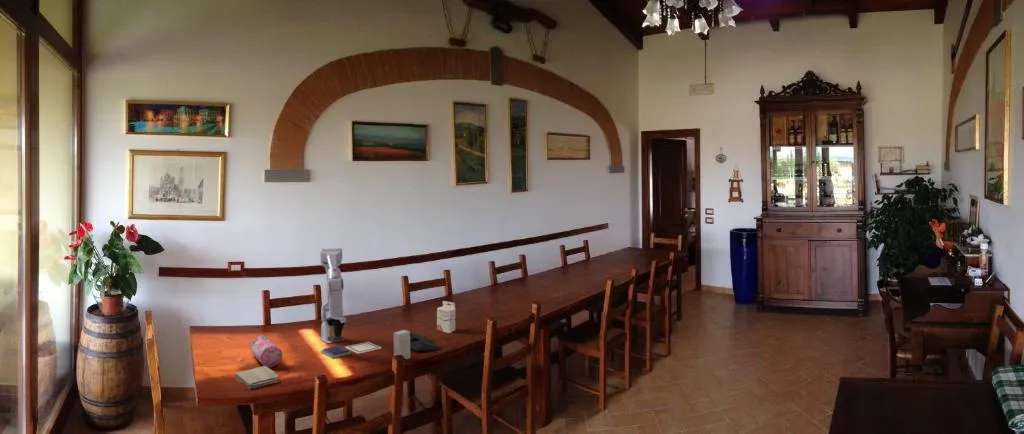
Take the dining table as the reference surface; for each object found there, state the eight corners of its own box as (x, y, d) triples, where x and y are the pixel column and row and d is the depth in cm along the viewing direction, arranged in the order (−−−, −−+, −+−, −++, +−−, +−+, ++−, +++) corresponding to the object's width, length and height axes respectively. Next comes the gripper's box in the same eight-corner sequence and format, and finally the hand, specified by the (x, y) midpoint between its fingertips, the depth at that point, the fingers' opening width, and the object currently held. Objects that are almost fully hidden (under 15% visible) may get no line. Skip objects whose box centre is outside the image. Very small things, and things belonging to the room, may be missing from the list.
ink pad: (321, 352, 266) (321, 348, 266) (340, 348, 272) (339, 344, 272) (332, 358, 259) (332, 354, 259) (350, 354, 265) (350, 350, 265)
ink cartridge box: (436, 330, 304) (436, 302, 303) (442, 328, 309) (442, 300, 307) (449, 333, 300) (449, 304, 299) (455, 331, 304) (455, 302, 303)
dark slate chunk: (411, 355, 266) (411, 345, 266) (395, 342, 285) (395, 332, 285) (443, 350, 274) (443, 340, 274) (425, 337, 293) (425, 328, 293)
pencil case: (249, 355, 261) (249, 335, 260) (271, 352, 266) (271, 332, 265) (259, 370, 244) (259, 348, 243) (283, 366, 249) (282, 345, 248)
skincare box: (404, 356, 264) (404, 329, 263) (410, 358, 261) (410, 331, 260) (393, 359, 259) (393, 332, 258) (399, 361, 256) (399, 334, 255)
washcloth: (250, 391, 222) (250, 383, 222) (233, 378, 235) (233, 370, 235) (281, 383, 231) (281, 375, 230) (264, 371, 244) (263, 363, 243)
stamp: (327, 340, 265) (327, 325, 264) (337, 338, 268) (337, 323, 268) (332, 342, 261) (332, 328, 261) (343, 340, 265) (343, 326, 264)
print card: (345, 347, 274) (345, 346, 274) (368, 342, 282) (368, 341, 282) (358, 354, 265) (358, 352, 265) (381, 348, 274) (381, 347, 274)
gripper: (319, 303, 266) (319, 333, 267) (335, 309, 256) (335, 340, 257) (334, 301, 271) (334, 330, 272) (350, 307, 261) (350, 337, 262)
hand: (336, 335), depth 265 cm, fingers closed on stamp, 4 cm apart
